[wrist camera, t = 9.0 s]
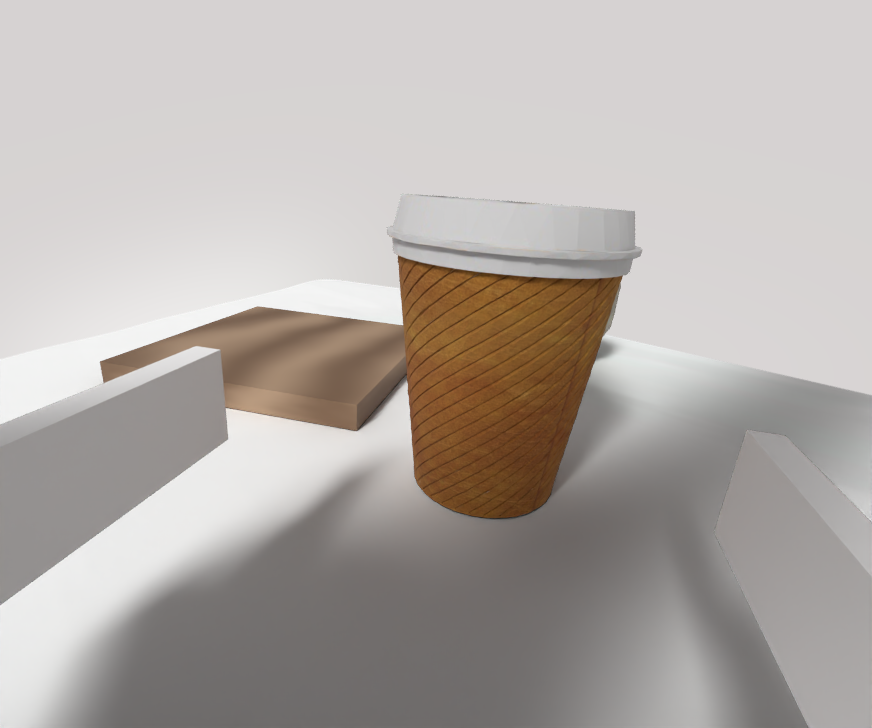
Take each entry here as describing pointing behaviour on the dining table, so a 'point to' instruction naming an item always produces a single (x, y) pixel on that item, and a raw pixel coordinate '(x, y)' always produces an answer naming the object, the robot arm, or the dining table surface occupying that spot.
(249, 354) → the walnut board
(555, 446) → the disposable coffee cup
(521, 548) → the dining table surface
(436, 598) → the dining table surface
